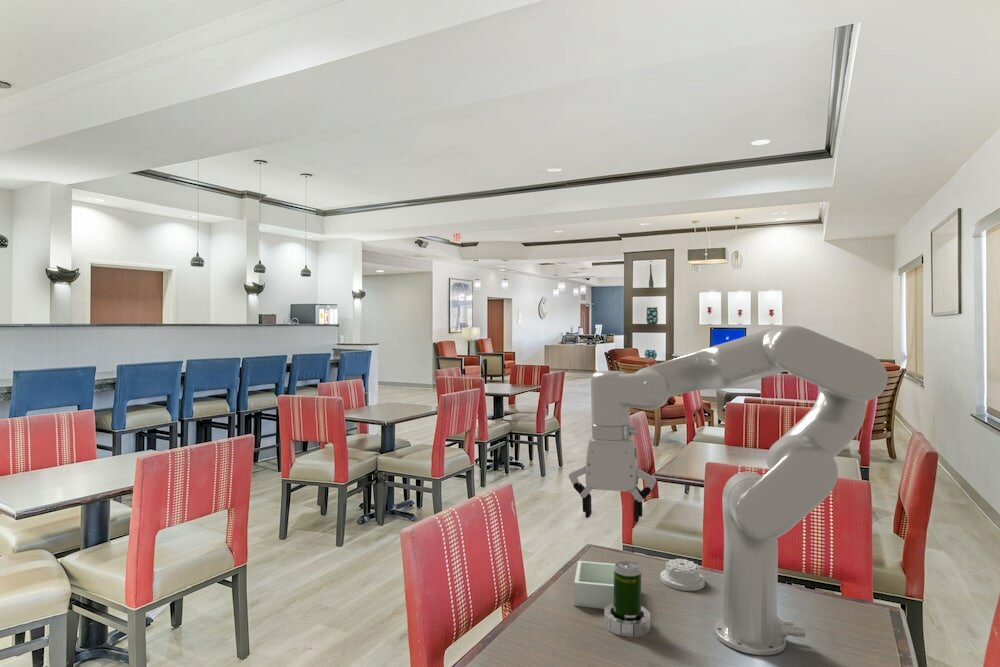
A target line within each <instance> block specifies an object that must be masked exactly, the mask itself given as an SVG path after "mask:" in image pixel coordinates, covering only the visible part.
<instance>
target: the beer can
mask: <svg viewBox="0 0 1000 667" xmlns="http://www.w3.org/2000/svg"><path fill="white" fill-rule="evenodd" d="M614 564H615V568H614V612H613V616H614V617H615V618H618V619H621V620H625V621H636V620H640V619H641V606H642V570H641V565H640V564H639V563H638V562H634V561H631V560H619V561H617V562H615V563H614Z"/></svg>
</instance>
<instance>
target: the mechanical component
mask: <svg viewBox="0 0 1000 667" xmlns="http://www.w3.org/2000/svg"><path fill="white" fill-rule="evenodd" d="M659 578H660V582H661V581H662V582H663V583H664V584H663V583H662V582H661V583H662V584H663V585H665V586H667V587H669V588H672V589H674V590H679V591H686V592H694V591H699V590H702V589H703V588H705V587H706V586H705V583H706V582H705V581H706V579H705V577H704V576H703V575H702V574H701V573H700V566H699V564H698V563H694V561H692V560H691V561H690V560H687V559H685V558H684V559H682V558H675V559H669V561H665V569H664V570H662V571H661V572H660V577H659Z"/></svg>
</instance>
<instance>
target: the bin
mask: <svg viewBox="0 0 1000 667" xmlns="http://www.w3.org/2000/svg"><path fill="white" fill-rule="evenodd" d="M614 568H615V563H609V562H599V561H584V560H577V565H576V570H575V575H574V576H575V577H574V583H573V584H574V588H573V606H575V607H584V608H593V609H601V610H602V609H604V608H605V607H606V606H608V605H609V604H611V603H614Z"/></svg>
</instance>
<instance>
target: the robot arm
mask: <svg viewBox="0 0 1000 667" xmlns="http://www.w3.org/2000/svg"><path fill="white" fill-rule="evenodd" d="M785 372H786V373H789V374H791V375H793V376H794V377H795V376H796V377H797V378H799V379H801V380H804V381H806V382H807V383H810V384H812V385H814V386H817V388H818V389H817V398H816V401H815V403H814V404H813V406H812V407H811V408H810V410H809V411H808V412H807V413H805V415H804V416H803V417H802V418H801V419H800V420H799V421H797V423H795V424H794V425H793V426H792V427H791V428H790V429H788V431H787V432H785V434H783V435H782V436H781V437H779V439H778V440H776V441H775V442H774V443H773V444H772V445H771V446H770V448H769V450H767V454H766V464H767V467H768V471H767V472H765V473H764V474H763V475H761V474H759V473H757V472H752V471H741V472H738V473H735V474H733V475H732V476H731V477H730V478H729V479H728V480H727V482H725V485H724V487H723V490H722V497H721V498H722V500H721V502H722V504H721V505H722V518H723V520H722V521H723V544H724V545H723V590H722V591H723V594H722V595H723V596H722V597H723V598H722V599H723V600H722V601H723V605H722V607H723V608H722V609H723V610H722V611H723V612H722V618H720V619H718V620H717V621H716V622H715V624H714V634H715V636H716V638H717V639H718V640H719V641H720V642H721V643H723V644H724V645H725V646H727V647H729V648H731V649H734V650H736V651H738V652H742V653H744V654H749V655H756V656H773V655H776V654H780V653H781V652H783V651H784V650H785V649H786V646H787V637H788V636H789V637H790V636H791V637H796V638H802V639H803V638H806V630H805V627H804V626H803V625H802V626H801V625H795V624H794V621H793V620H788V619H781V618H779V617H778V576H779V575H778V573H779V572H778V571H779V570H778V569H779V568H778V567H779V565H778V562H779V545H778V544H779V542H778V540H779V539H778V538H780V537H782V536H783V535H785V534H786V533H788V532H789V531H790V530H792V529H793V528H794V527H795V526H797V524H799V523H800V522H801V521H802V520H803V519H804V518H805V517H806V516H808V515H809V514H810V513H811V512H812V511H813V510H814V509H815V508H817V507H818V506H819V505H820V504H821V503H822V502H824V500H826V498H827V497H828V496H829V495H830V494H831V493H832V491H833V490H834V488H835V486H836V484H837V481H838V477H839V469H838V464H837V462H836V459H835V458H836V457H837V456H838V455H839V454H840V453H841V452H842V451H843V450H844V449H845V448H846V447H847V446H848V445H849V444H850V443H851V442H852V441H853V440H854V439H855V438H856V436H857V435H858V433H859V432H860V430H861V429H862V427H863V425H864V420H865V418H866V411H867V402H868V401H872V400H875V399H876V398H878V397H879V396H880V395H881V394H882V393H884V391H885V389H886V387H887V384H888V372H887V370H886V367H885V366H884V364H883V363H882V361H880V359H878V358H876V356H874V355H872V354H870V353H867V352H865V351H862V350H860V349H858V348H855V347H852V346H849V345H847V344H845V343H842V342H840V341H838V340H835V339H833V338H831V337H828V336H826V335H824V334H820V333H818V332H816V331H814V330H813V329H812V330H811V329H809V328H806V327H804V326H800V325H781V326H780V325H779V326H776V327H775V326H774V327H772V328H768V329H764V330H761V331H759V332H755V333H753V334H752V333H751V334H749V335H745V336H742V337H740V338H736V339H732V340H729V341H726V342H723V343H719V344H715V345H713V346H710V347H707V348H703V349H700V350H698V351H695V352H693V353H689V354H687V355H686V354H685V355H683V356H679V357H676V358H672V359H670V360H665V361H663V362H660V363H656V364H653V365H650V366H649V365H648V366H646V367H644V368H641V369H639V370H637V371H636V372H634V373H633V372H632V373H626V372H624V371H619V370H603V371H602V370H600V371H596V372H594V373H593V374H592V375H591V378H590V398H591V400H590V402H591V403H590V406H591V437H589V438H588V442H587V449H586V457H585V459H586V460H585V466H582V467H580V468H578V469H576V470H574V471H572V472H570V473H569V474H568V478H569V480H570V482H571V484H572V486H573V488H574V489H575V491H576V492H577V493H578V494H579V495H580V497H581V499H582V513H584V514H585V515H584V516H585V518H586V519H588V518H590V517H591V515H592V495H591V491H592V490H596V491H597V490H598V491H610V492H611V491H612V492H613V491H614V492H629V493H631V495H632V496H633V497H634V501H633V521H634V522H636V523H638V522H639V520H640V517H641V518H642V517H643V500H644V499H646V498H647V497H648V496H649V495H650V493H651V492H652V490H653V488H654V487H655V484H657V483H656V482H657V478H656V477H655V476H653V475H651V474H649V473H647V472H645V471H644V470H642V469H640V468H638V455H637V454H638V453H637V447H636V443H635V439H634V438H631V437H632V436H634V435H638V427H634V426H632V425H631V423H630V420H631V418H630V416H631V414H630V408H634V409H641V410H651V411H653V410H656V409H660V408H661V407H663V406H664V405H666V403H667V402H668V401H669V398H672V397H676V396H679V395H683V394H686V393H691V392H696V391H697V392H698V391H703V390H716V391H717V390H724V389H730V388H733V387H736V386H741V385H743V384H746V383H749V382H753V381H757V380H759V379H763V378H767V377H770V376H773V375H778V374H780V373H785ZM583 475H585V486H584V485H583V484H582V483H581V482H580V481H579V477H581V476H583ZM639 479H642V480H643V481H645V482H646V485H645V487H644V488H643V489H642V490H641V489H640V487H639V486H638V483H639Z"/></svg>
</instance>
